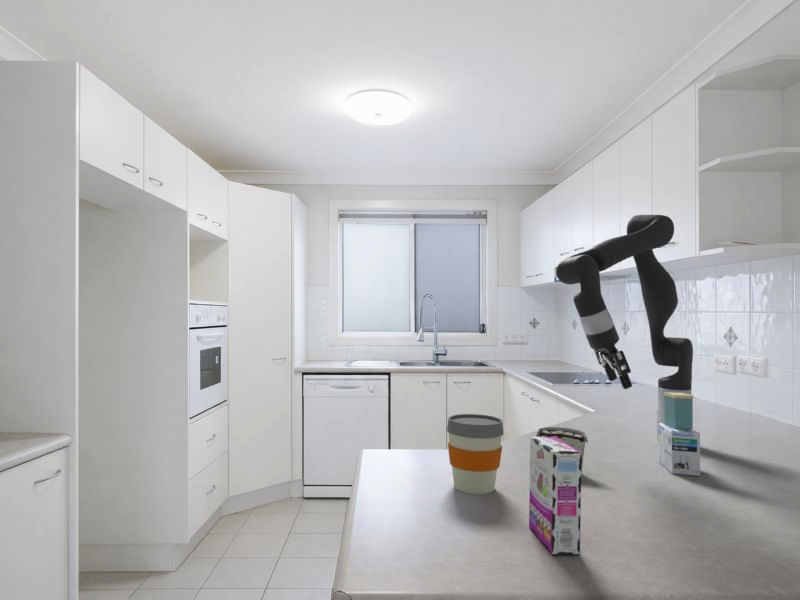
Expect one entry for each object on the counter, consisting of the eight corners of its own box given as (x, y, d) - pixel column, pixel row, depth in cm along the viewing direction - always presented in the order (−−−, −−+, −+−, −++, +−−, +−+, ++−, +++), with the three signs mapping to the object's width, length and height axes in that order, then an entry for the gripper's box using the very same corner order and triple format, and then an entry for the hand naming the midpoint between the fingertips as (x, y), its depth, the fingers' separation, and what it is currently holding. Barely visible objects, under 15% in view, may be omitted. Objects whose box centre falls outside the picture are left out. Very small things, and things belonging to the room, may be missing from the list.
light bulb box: (701, 476, 120) (701, 432, 121) (671, 474, 122) (671, 430, 122) (684, 464, 131) (684, 423, 131) (657, 462, 132) (657, 422, 132)
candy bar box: (582, 556, 78) (583, 452, 78) (552, 556, 77) (553, 452, 78) (554, 526, 89) (555, 435, 89) (527, 526, 88) (528, 435, 89)
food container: (589, 469, 124) (589, 430, 124) (587, 476, 118) (588, 435, 118) (539, 462, 129) (540, 424, 129) (535, 469, 123) (536, 429, 124)
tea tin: (663, 425, 129) (664, 392, 129) (681, 425, 129) (681, 392, 129) (674, 429, 124) (674, 395, 124) (693, 429, 124) (693, 395, 125)
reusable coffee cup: (467, 500, 100) (468, 427, 101) (435, 482, 111) (436, 416, 112) (514, 492, 106) (515, 422, 107) (479, 475, 117) (480, 412, 118)
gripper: (624, 325, 121) (647, 385, 122) (600, 318, 135) (621, 372, 136) (596, 337, 121) (619, 396, 122) (575, 329, 135) (596, 382, 136)
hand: (620, 383), depth 129 cm, fingers open, 8 cm apart
